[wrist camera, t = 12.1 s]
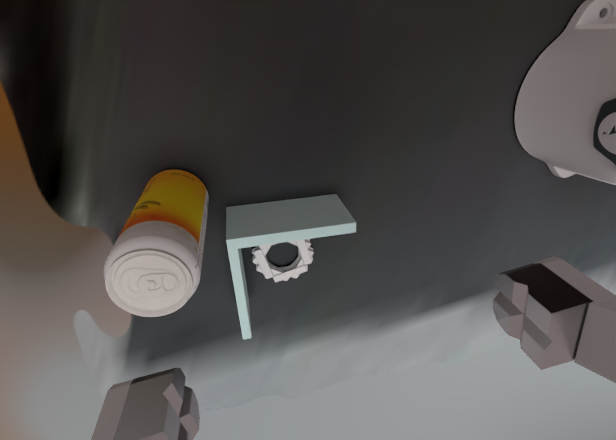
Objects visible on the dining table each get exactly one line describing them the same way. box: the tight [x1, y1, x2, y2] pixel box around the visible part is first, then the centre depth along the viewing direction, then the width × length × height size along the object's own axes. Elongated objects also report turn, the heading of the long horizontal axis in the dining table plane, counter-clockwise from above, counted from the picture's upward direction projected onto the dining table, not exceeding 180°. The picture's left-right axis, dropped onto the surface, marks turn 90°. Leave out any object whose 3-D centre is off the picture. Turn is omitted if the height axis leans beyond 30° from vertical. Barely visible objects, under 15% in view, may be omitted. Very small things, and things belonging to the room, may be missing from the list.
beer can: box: [104, 170, 209, 317], centre depth 30 cm, size 6×6×15 cm
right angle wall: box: [226, 194, 356, 339], centre depth 39 cm, size 12×12×8 cm
